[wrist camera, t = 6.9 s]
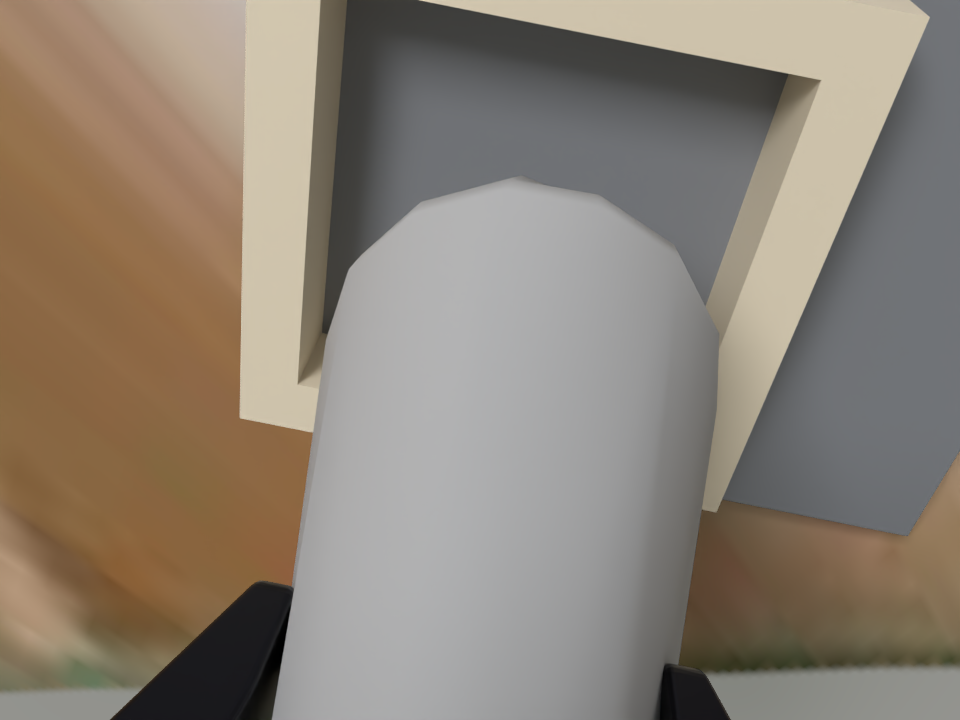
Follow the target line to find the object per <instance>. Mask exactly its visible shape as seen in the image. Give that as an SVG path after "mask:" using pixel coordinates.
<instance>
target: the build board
mask: <svg viewBox="0 0 960 720" xmlns="http://www.w3.org/2000/svg"><path fill="white" fill-rule="evenodd" d="M521 175H522V176H525V177H527V178H530V179H532V180H535V181H537V182H540V183H542V184H545V185H547V186H552V187H558V188H563V189H569V190H574V191H580V192H586V193H591V194H597V195H600V196H602V197H603V198H605V199H606V200H608V201H609V202H611V203H612V204H614V205H615V206H617V207H618V208H620V209H621V210H623V211H624V212H626V213H627V214H629V215H630V216H632V217H633V218H635V219H636V220H638V221H639V222H641V223H642V224H644V225H645V226H647V227H648V228H650V229H651V230H653V231H654V232H656V233H657V234H659V235H660V236H662V237H663V238H665V239H666V240H668V241H669V242H671V243H672V244H674V245H675V247H676V249H677V251H678V253H679V255H680V257H681V259H682V261H683V263H684V265H685V267H686V269H687V271H688V273H689V275H690V277H691V279H692V281H693V283H694V285H695V287H696V289H697V291H698V293H699V295H700V297H701V299H702V301H703V303H704V305H705V307H706V309H707V311H708V313H709V315H710V317H711V319H712V321H713V323H714V324H715V326H716V328H717V330H718V332H719V360H718V390H717V412H716V418H715V425H714V432H713V438H712V445H711V451H710V458H709V465H708V471H707V478H706V485H705V491H704V498H703V504H702V510H706V511H711V512H717V510H718V508H719V505H720V503H721V501H722V500H727V501H732V502H737V503H742V504H748V505H753V506H758V507H763V508H768V509H773V510H778V511H783V512H788V513H793V514H798V515H803V516H808V517H813V518H818V519H823V520H828V521H833V522H838V523H843V524H848V525H853V526H858V527H863V528H869V529H874V530H879V531H884V532H889V533H894V534H899V535H904V536H908V535H909V533H910V531H911V530H912V528H913V527H914V525H915V523H916V522H917V520H918V518H919V517H920V515H921V513H922V512H923V510H924V508H925V507H926V505H927V504H928V502H929V500H930V499H931V497H932V495H933V494H934V492H935V490H936V489H937V487H938V486H939V484H940V482H941V481H942V479H943V477H944V476H945V474H946V472H947V471H948V469H949V468H950V466H951V464H952V463H953V461H954V459H955V458H956V456H957V454H958V453H959V451H960V0H246V43H245V109H244V175H243V241H242V306H241V372H240V418H242V419H247V420H252V421H257V422H262V423H267V424H272V425H277V426H282V427H287V428H292V429H297V430H303V431H308V432H313V430H314V423H315V415H316V408H317V401H318V394H319V386H320V379H321V372H322V365H323V358H324V350H325V343H326V338H327V335H328V332H329V329H330V326H331V323H332V320H333V317H334V313H335V310H336V307H337V304H338V301H339V298H340V295H341V292H342V289H343V286H344V282H345V279H346V276H347V273H348V270H349V268H350V267H351V266H352V265H353V264H354V263H355V261H356V260H357V259H358V258H359V257H360V256H361V255H362V254H363V253H364V252H365V251H366V250H367V249H368V248H369V247H371V246H372V245H373V244H374V243H375V242H376V241H377V240H378V239H380V238H381V237H382V236H383V235H384V234H385V233H386V232H388V231H389V230H390V229H391V228H392V227H393V226H394V225H395V224H397V223H398V222H399V221H400V220H401V219H402V218H403V217H404V216H406V215H407V214H408V213H409V212H410V211H411V210H412V209H414V208H415V207H416V206H417V205H418V204H419V203H420V202H422V201H426V200H429V199H433V198H437V197H441V196H445V195H448V194H452V193H456V192H460V191H464V190H467V189H471V188H475V187H479V186H482V185H486V184H490V183H494V182H498V181H501V180H505V179H509V178H513V177H517V176H521Z"/></svg>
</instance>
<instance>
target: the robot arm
mask: <svg viewBox="0 0 960 720" xmlns="http://www.w3.org/2000/svg"><path fill="white" fill-rule="evenodd" d="M293 593H294V588H293V587H291V586H288V585H283V584H278V583H273V582H268V581H258V582H256V583H254V584H253V585H251V586H250V587H249V588H248V589H247V590H246V591H245V592H244V593H243V594H242V595H241V596H240V597H239V598H238V599H236V600H235V601H234V602H233V603H232V604H231V605H230V606H229V607H228V608H227V609H226V610H225V611H224V612H223V613H222V614H221V615H220V616H219V617H218V618H217V619H215V620H214V621H213V622H212V623H211V624H210V625H209V626H208V627H207V628H206V629H205V630H204V631H203V632H202V633H201V634H200V635H199V636H198V637H197V638H195V639H194V640H193V641H192V642H191V643H190V644H189V645H188V646H187V647H186V648H185V649H184V650H183V651H182V652H181V653H180V654H179V655H178V656H177V657H175V658H174V659H173V660H172V661H171V662H170V663H169V664H168V665H167V666H166V667H165V668H164V669H163V670H162V671H161V672H160V673H159V674H158V675H157V676H155V677H154V678H153V679H152V680H151V681H150V682H149V683H148V684H147V685H146V686H145V687H144V688H143V689H142V690H141V691H140V692H139V693H138V694H137V695H136V696H134V697H133V698H132V700H130V701H129V702H128V703H127V704H126V705H125V706H124V707H123V708H122V709H121V710H120V711H119V712H118V713H117V714H116V715H114V716H113V717H112V719H110V720H272V716H273V710H274V704H275V698H276V692H277V687H278V681H279V675H280V669H281V663H282V657H283V651H284V646H285V640H286V634H287V628H288V622H289V616H290V610H291V605H292V599H293ZM660 720H731V719H730V718H729V716H728V714H727V712H726V710H725V708H724V707H723V705H722V703H721V701H720V699H719V698H718V696H717V694H716V692H715V690H714V689H713V687H712V685H711V683H710V681H709V679H708V678H707V676H706V675H705V674H704V673H703V672H702V671H701V670H698V669H696V668H691V667H686V666H681V665H676V664H671V663H666V664H665V665H664V670H663V678H662V689H661V710H660Z"/></svg>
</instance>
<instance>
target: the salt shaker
mask: <svg viewBox="0 0 960 720" xmlns="http://www.w3.org/2000/svg"><path fill="white" fill-rule="evenodd" d="M718 360H719V332H718V330H717V328H716V326H715V324H714V323H713V321H712V319H711V317H710V315H709V313H708V311H707V309H706V307H705V305H704V303H703V301H702V299H701V297H700V295H699V293H698V291H697V289H696V287H695V285H694V283H693V281H692V279H691V277H690V275H689V273H688V271H687V269H686V267H685V265H684V263H683V261H682V259H681V257H680V255H679V253H678V251H677V249H676V247H675V245H674V244H672V243H671V242H669V241H668V240H666V239H665V238H663V237H662V236H660V235H659V234H657V233H656V232H654V231H653V230H651V229H650V228H648V227H647V226H645V225H644V224H642V223H641V222H639V221H638V220H636V219H635V218H633V217H632V216H630V215H629V214H627V213H626V212H624V211H623V210H621V209H620V208H618V207H617V206H615V205H614V204H612V203H611V202H609V201H608V200H606V199H605V198H603V197H602V196H600V195H597V194H591V193H586V192H580V191H574V190H569V189H563V188H558V187H552V186H547V185H545V184H542V183H540V182H537V181H535V180H532V179H530V178H527V177H525V176H522V175H521V176H517V177H513V178H509V179H505V180H501V181H498V182H494V183H490V184H486V185H482V186H479V187H475V188H471V189H467V190H464V191H460V192H456V193H452V194H448V195H445V196H441V197H437V198H433V199H429V200H426V201H422V202H420V203H419V204H418V205H417V206H416V207H415V208H414V209H412V210H411V211H410V212H409V213H408V214H407V215H406V216H404V217H403V218H402V219H401V220H400V221H399V222H398V223H397V224H395V225H394V226H393V227H392V228H391V229H390V230H389V231H388V232H386V233H385V234H384V235H383V236H382V237H381V238H380V239H378V240H377V241H376V242H375V243H374V244H373V245H372V246H371V247H369V248H368V249H367V250H366V251H365V252H364V253H363V254H362V255H361V256H360V257H359V258H358V259H357V260H356V261H355V263H354V264H353V265H352V266H351V267H350V268H349V270H348V273H347V276H346V279H345V282H344V286H343V289H342V292H341V295H340V298H339V301H338V304H337V307H336V310H335V313H334V317H333V320H332V323H331V326H330V329H329V332H328V335H327V338H326V343H325V350H324V358H323V365H322V372H321V379H320V386H319V394H318V401H317V408H316V415H315V423H314V430H313V437H312V444H311V452H310V459H309V466H308V473H307V481H306V488H305V495H304V502H303V509H302V517H301V524H300V531H299V538H298V546H297V553H296V560H295V567H294V575H293V582H292V587H293V588H294V593H293V599H292V605H291V610H290V616H289V622H288V628H287V634H286V640H285V646H284V651H283V657H282V663H281V669H280V675H279V681H278V687H277V692H276V698H275V704H274V710H273V716H272V720H660V710H661V689H662V678H663V670H664V665H665V664H666V663H671V664H676V665H678V663H679V656H680V650H681V643H682V637H683V630H684V623H685V617H686V610H687V604H688V597H689V590H690V584H691V577H692V570H693V564H694V557H695V551H696V544H697V537H698V531H699V524H700V518H701V511H702V504H703V498H704V491H705V485H706V478H707V471H708V465H709V458H710V451H711V445H712V438H713V432H714V425H715V418H716V412H717V390H718Z"/></svg>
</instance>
